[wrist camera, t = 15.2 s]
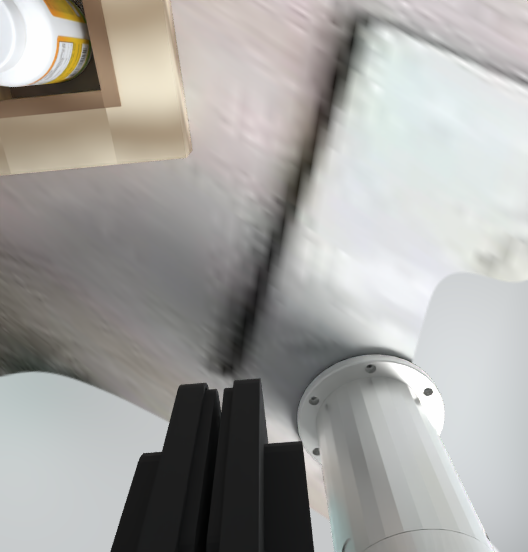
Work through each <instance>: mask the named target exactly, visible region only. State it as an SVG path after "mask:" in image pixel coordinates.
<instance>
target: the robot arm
mask: <svg viewBox="0 0 528 552" xmlns="http://www.w3.org/2000/svg"><path fill="white" fill-rule="evenodd" d="M444 417H445V413H444V403H443V400H442V397H441V394H440V392H439V390H438V388H437V386H436V385H435V383H434V382H433V380H432V379H431V378H430V376H429V375H428V374H427V373H426V372H424V371H423V370H422V369H421V368H420V367H418V366H416V365H414V364H413V363H411V362H409V361H407V360H404V359H401V358H398V357H395V356H388V355H380V354H376V355H362V356H357V357H352V358H349V359H346V360H343V361H341V362H338V363H336V364H334V365H333V366H331V367H329V368H327V369H326V370H324V371H323V372H322V373H321V374H319V375H318V376H317V377H316V378H315V379H314V380H313V381H312V382H311V384H310V385H309V386H308V387H307V388H306V390H305V392H304V394H303V396H302V398H301V400H300V404H299V407H298V415H297V423H298V432H299V436H300V439H301V441H298V442H284V443H271V444H268V437H267V428H266V420H265V411H264V402H263V394H262V385H261V379H260V378H259V379H247V380H235V381H234V385H233V388H225V389H224V394H223V403H222V412H221V407H220V401H219V395H218V391H217V389H211V390H209V389H208V385H207V383H197V384H185V385H180V386H179V388H178V391H177V395H176V399H175V403H174V407H173V411H172V415H171V419H170V423H169V427H168V431H167V434H166V438H165V442H164V446H163V450H162V452H154V453H143V455H141V457H140V459H139V462H138V465H137V468H136V471H135V474H134V477H133V481H132V484H131V487H130V490H129V494H128V497H127V500H126V503H125V506H124V510H123V513H122V516H121V519H120V523H119V526H118V529H117V532H116V535H115V539H114V542H113V545H112V548H111V552H314V546H313V537H312V527H311V518H310V508H309V499H308V490H307V480H306V471H305V462H304V452H303V446H304V447H305V449H306V451H307V452H308V454H309V455H310V456H311V457H312V458H313V459H314V460H315V461H316V462H318V463H319V464H321V465H322V472H323V478H324V485H325V492H326V498H327V505H328V512H329V519H330V525H331V532H332V539H333V546H334V552H495V551H494V549H493V547H492V545H491V542H490V540H489V538H488V536H487V534H486V532H485V530H484V528H483V526H482V524H481V522H480V520H479V517H478V515H477V513H476V511H475V509H474V507H473V505H472V503H471V501H470V499H469V497H468V495H467V492H466V491H465V488H464V486H463V484H462V482H461V480H460V478H459V476H458V474H457V471H456V469H455V467H454V465H453V463H452V461H451V459H450V457H449V455H448V453H447V450H446V448H445V446H444V444H443V442H442V440H441V438H440V436H439V435H440V433H441V430H442V428H443V422H444Z"/></svg>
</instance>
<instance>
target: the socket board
mask: <svg viewBox="0 0 528 552" xmlns="http://www.w3.org/2000/svg"><path fill="white" fill-rule="evenodd" d="M82 2H83V7H84V12H85V17H86V21H87V26H88V31H89V36H90V40H91V45H92V50H93V55H94V60H95V64H96V69H97V74H98V79H99V83H100V88H101V90H94V91H84V92H74V93H64V94H54V95H44V96H34V97H25V98H15V99H12V95H11V92H10V88H9V87H7V86H0V176H4V175H15V174H25V173H35V172H46V171H56V170H67V169H77V168H87V167H98V166H108V165H119V164H129V163H139V162H150V161H160V160H171V159H181V158H187V157H188V155H189V154H190V153H191V152H192V144H191V137H190V130H189V123H188V117H187V110H186V103H185V96H184V90H183V83H182V76H181V69H180V62H179V56H178V49H177V42H176V35H175V29H174V22H173V15H172V8H171V2H170V0H82Z"/></svg>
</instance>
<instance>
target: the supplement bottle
mask: <svg viewBox="0 0 528 552" xmlns="http://www.w3.org/2000/svg"><path fill="white" fill-rule="evenodd" d="M91 55H92V45H91V40H90V36H89V31H88V26H87V21H86V17H85V15H84V14H83V12H82V11H81V10H80V8H79V7H78V6H77V5H76V4H75V3H74V2H73V1H72V0H0V86H7V87H20V86H29V85H41V84H52V83H61V82H66V81H69V80H72V79H74V78H75V77H77V76H78V75H79V74H81V73H82V72H83V70H84V69H85V68H86V66H87V65H88V63H89V61H90V58H91Z"/></svg>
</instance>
